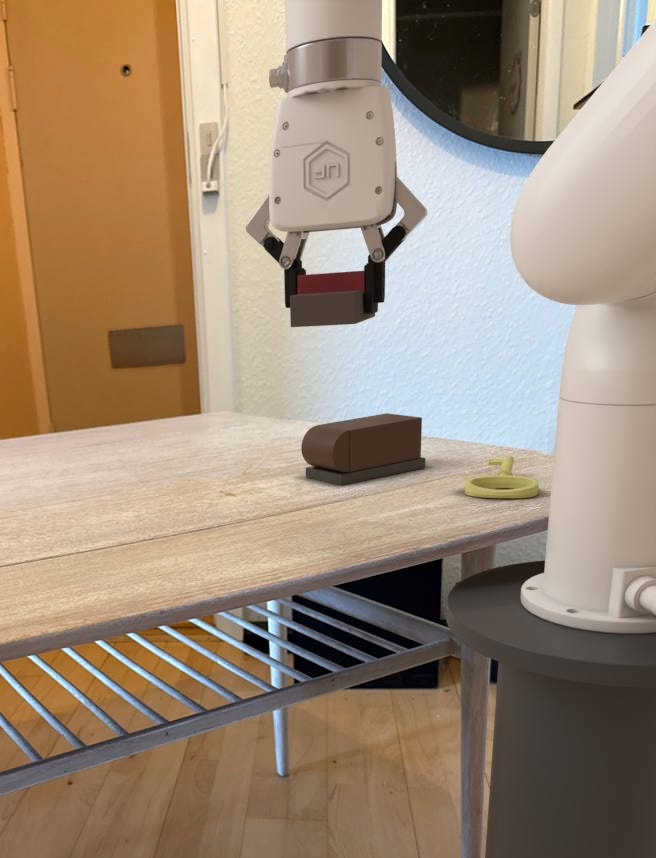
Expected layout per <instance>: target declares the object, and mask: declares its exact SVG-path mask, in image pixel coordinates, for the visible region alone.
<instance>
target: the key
mask: <svg viewBox="0 0 656 858" xmlns="http://www.w3.org/2000/svg"><path fill="white" fill-rule="evenodd" d="M488 459H489V460H488V466H500V468H499V470H498V471H496V473H495V474H493V475H480V476H474V477H470V478H468V479H466V481H465V483H464V494H465V495H467V496H470V497H475V498H484V499H485V498H488V499H526V498H533V497H536V496H537V495H538V493H539V489H540V487H539V481H538V480H537V479H536V478H532V477H529V476H521V475H514V474H513V472H512V471H513V467H514V463H515V458H514V456H512V455H510V454H509V455H506V456H504V457H503V458H488Z"/></svg>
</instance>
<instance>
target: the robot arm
mask: <svg viewBox="0 0 656 858" xmlns="http://www.w3.org/2000/svg"><path fill="white" fill-rule="evenodd" d="M284 15H285V16H284V18H285V19H284V20H285V54H284V55H283V61H282V63H281V65H279V66H278V67H276V68H272V69H271V68H270V69H269V71H268V82H269V86H270V88H271V89H274V88H279V89H282V90H284V93H285V94H286V97H285V98H281V99H278V100H277V101H276V103H275V104H276V105H275V110H274V117H273V125H272V133H271V135H272V136H271V146H270V162H269V163H270V164H269V168H270V169H269V187H268V188H269V189H268V194H267V196H266V197H265V199H264V200H263V201H262V202H261V204H260V205H259V207H258V208H257V210H256V211H255V213H254V214H253V215H252V216H251V218H250V219H249V220H248V222H247V224H246V225H245V231H246V232H247V234H248V235H249V236H250V237H251V238H253V240H255V241H256V242H257V243H258V244H259V245H260V246H262V247H263V249H264V250H265V251H266V252H267V253H268V254H269V255H270V256H271V257H272V258H273V259H274V260H275V261H276V263H278V264H279V266H280V268H281V269H282V270H283V275H284V276H283V279H284V280H283V281H284V283H283V284H284V306H285V308H286V309H290V296H291V295H297V294H298V275H307V269H306V268H305V267H303V261H302V258H303V254H304V251H305V249H306V244H307V243H308V242H307V241H308V238H309V236H310V233H317V232H327V231H339V230H349V229H351V230H352V229H360V231H361V233H362V237H363V240H364V242H365V245H366V248H367V251H368V253H369V254H368V256H367V262H366V264H364V265H363V271H365V293H364V313H365V312H366V314H373V313H375V314H376V313H378V312H379V304H382V303H385V298H386V262H387V261H388V260H389V259H390V257H391V256H392V255H393V254H394V253H395V252H396V250H397V249H398V248H399V247H400V246H401V245H402V243H403V242H404V241H405V240H406V239H407V238H408V237H409V236H410V234H412V232H413V231H414V230H416V228H418V226H419V225H420V224H421V223H422V222H423V221H424V220H425V219H426V218H427V216H428V209H427V208H426V206H425V205H424V204H423V203H422V202H421V201H420V200H419V199H418V198H417V196H416V195H415V194H414V193H413V192H412V191H411V190H410V189H409V188H408V187H407V185H406V184H405V183H404V182H403V181H402V180H401V179H400V178H399V177H398V168H397V167H398V165H397V163H398V162H397V143H396V141H397V140H396V131H395V118H394V112H393V111H394V110H393V104H392V99H391V93H390V89H389V87H388V86H386V85H382V65H383V63H382V60H383V59H382V58H383V53H382V51H383V44H382V43H383V41H382V39H383V0H284ZM398 205H399V206H400V208H401V209H402V210H403V212H404V213H403V216H402V218H401V219H400V220H399V221H398V223H396V225H395V226H393V227H392V228H391V229H390V230H389V232H388V233H387V234H386V235H385V234H384V230H383V228H382V226H383V225H384V224H386V223H389V222H390V221H392V220H393V218H394V217H395V216H396V213H397V208H398ZM270 224H271V226H272V227H273V228H274V229H276V230H278V231H280V232H284V233H285V232H286V235H285V236H286V237H285V240H284V241H283V240H281V238H279V237H278V236H276V235H275V234H274V233H273V232H272V230H270V227H269V225H270ZM509 243H510V244H509V245H510V251H511V256H512V259H513V263H514V266H515V268H516V270H517V272H518V273H519V276H520V278H522V279H523V281H524V283H526V285H527V286H528V287H529V288H530V289H531V290H533V291H534V292H535V293H537V294H538V295H540V296H542V297H543V298H545V299H548V300H550V301H552V302H556V303H558V304H564V305H572V306H575V310H574V313H573V316H572V319H571V322H570V327H569V331H568V334H567V338H566V343H565V346H564V347H565V348H564V353H563V359H562V365H561V366H562V367H561V374H560V375H561V376H560V385H559V395H558V404H557V413H556V414H557V415H556V426H555V438H554V439H555V440H554V450H553V463H552V476H551V485H550V499H549V509H548V510H549V511H548V523H547V533H546V547H545V559H544V561H545V569H544V573H541V574H539V575H536V576H533V577H532V578H530V579H528V580H527V581H526V582H525V583H524V584H523V585H522V588H521V597H520V598H521V603H522V605H523V606H524V607H525V608H526V609H527V610H528V611H529V612H531V613H532V614H534V615H536V616H538V617H540V618H542V619H544V620H547V621H549V622H552V623H555V624H559V625H562V626H566V627H570V628H575V629H581V630H586V631H593V632H602V633H615V634H648V633H656V18H655V19H654V20H653V21H652V23H651V24H650V25H649V26H648V27H647V28H646V29H645V31H644V32H643V33H642V34H641V36H640V37H639V38H638V39H637V41H636V42H635V43H634V45H632V47H631V48H630V49H629V50H628V52H627V53H626V54H625V55H624V56H623V57H622V59H621V60H620V61H619V62H618V64H617V65H616V66H615V67H614V68H613V70H611V72H610V73H609V74H608V76H607V77H606V78H605V79H604V80H603V82H602V83H601V84H600V85H599V86H598V87H597V88H596V90H595V91H594V92H593V94H592V95H591V96H590V97H589V98H588V99H587V100H586V102H585V103H584V105H583V106H582V107H581V108H580V109H579V111H578V112H577V113H576V114H575V115H574V116H573V118H572V119H571V120H570V121H569V123H568V124H567V125H566V126H565V127H564V129H563V130H562V131H561V132H560V133H559V135H557V137H556V138H555V139H554V140H553V142H552V143H551V145H549V147H548V148H547V149H546V151H545V152H544V154H543V155H542V156H541V158H540V159H539V160H538V162H537V163H536V165H535V166H534V168H533V170H531V172H530V173H529V176H528V177H527V179H526V180H525V182H524V184H523V186H522V188H521V190H520V193H519V194H518V197H517V200H516V203H515V205H514V209H513V213H512V217H511V222H510V232H509Z"/></svg>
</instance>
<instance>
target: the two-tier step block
mask: <svg viewBox="0 0 656 858" xmlns="http://www.w3.org/2000/svg"><path fill="white" fill-rule="evenodd" d="M364 293H365V271H364V270H354V271H353V270H352V271H339V272H326V273H325V272H324V273H311V274H306V275H298V294H297V295H291V296H290V308H289V309H290V310H289V311H290V312H289V313H290V315H289V317H290V319H289V320H290V328H303V327H304V328H305V327H323V326H325V327H326V326H342V325H343V326H345V325H356V324H359V323H362V322H364V321H367V320H369V319H372V318H374V317H376V313H373V314H366V312H365V313H364Z"/></svg>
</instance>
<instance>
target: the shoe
mask: <svg viewBox="0 0 656 858" xmlns="http://www.w3.org/2000/svg"><path fill="white" fill-rule="evenodd" d="M422 429H423V417H421V416H414V415H413V416H412V415H403V414H395V413H388V412H387V413H381V414H375V415H369V416H363V417H357V418H352V419H351V418H350V419H345V420H339V421H332V422H327V423H322V424H317V425H314V426H312V427H311V428H309V429H308V430H307V431H306V432H305V434H304V436H303V438H302V441H301V447H300V449H301V455H302V458H303V459H304V461H305V462H306V463H307V464H308V465H309V466H307V467H305V478H308V479H313V480H317V481H321V482H325V483H329V484H334V485H339V486H344V485H349V484H354V483H360V482H363V481H364V482H365V481H369V480H373V479H377V478H383V477H387V476H391V475H392V476H393V475H397V474H402V473H407V472H411V471H416V470H421V469H425V468H426V458H425V457H422V433H423V432H422V431H423V430H422Z"/></svg>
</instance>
